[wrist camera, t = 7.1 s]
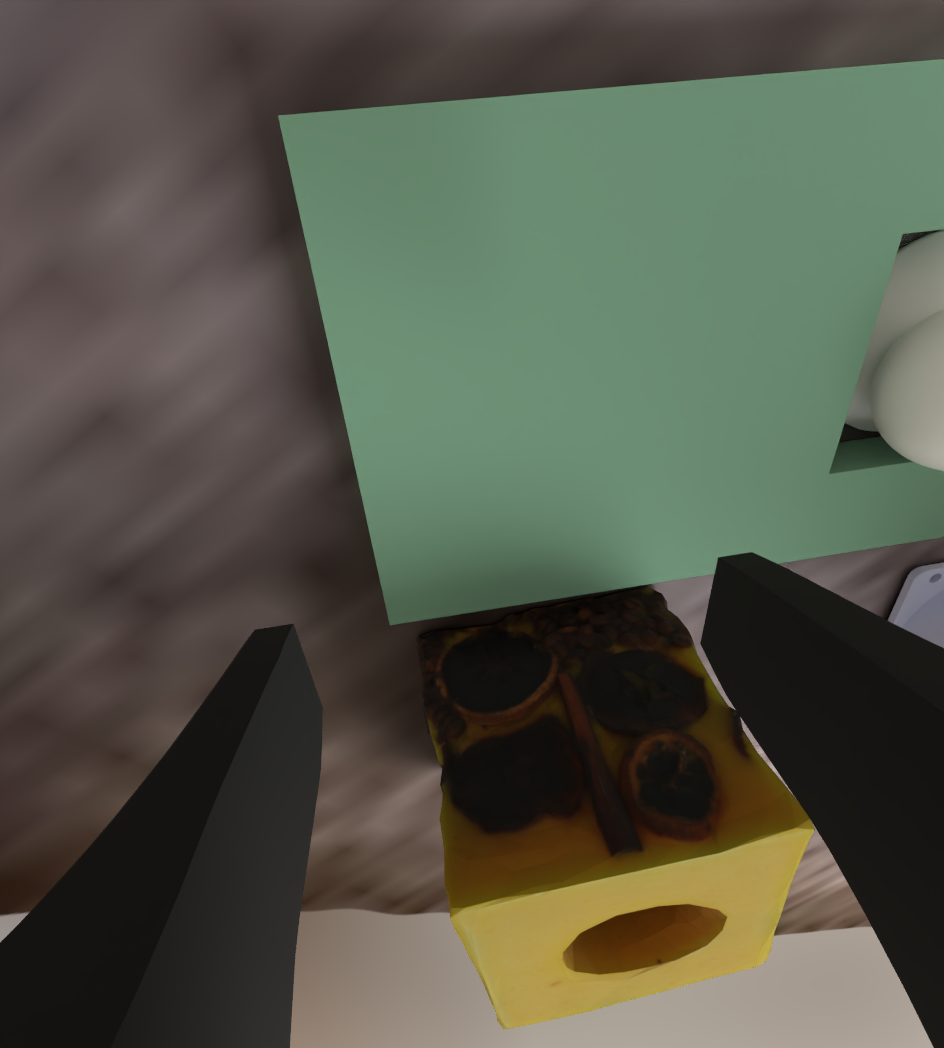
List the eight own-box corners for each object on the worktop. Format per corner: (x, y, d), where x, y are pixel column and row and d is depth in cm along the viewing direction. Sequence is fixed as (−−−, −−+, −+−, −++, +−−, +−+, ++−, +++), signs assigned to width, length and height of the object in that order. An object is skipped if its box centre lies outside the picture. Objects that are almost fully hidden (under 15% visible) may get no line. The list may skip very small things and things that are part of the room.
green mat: (1199, 46, 15) (1306, 28, 13) (978, 497, 22) (1027, 524, 20) (291, 124, 13) (278, 115, 11) (389, 588, 20) (389, 625, 19)
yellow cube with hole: (412, 629, 22) (433, 911, 13) (657, 575, 22) (829, 817, 14) (456, 775, 27) (490, 1040, 19) (651, 731, 28) (770, 971, 19)
